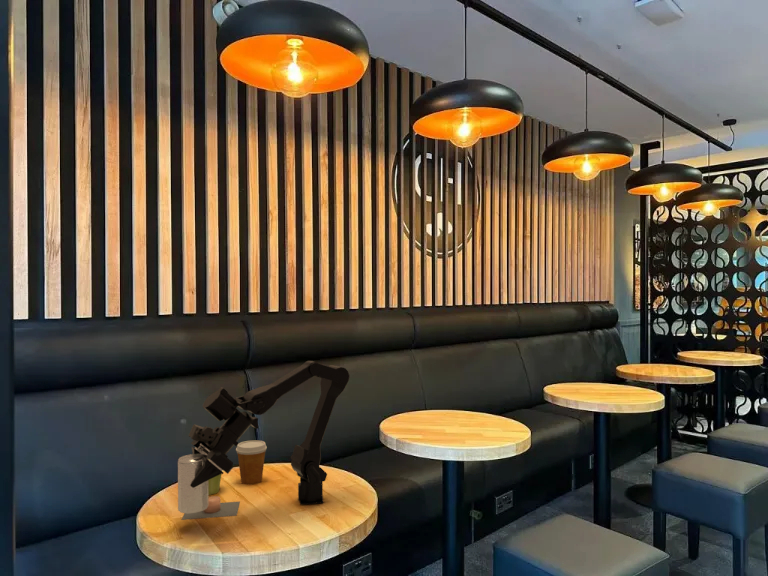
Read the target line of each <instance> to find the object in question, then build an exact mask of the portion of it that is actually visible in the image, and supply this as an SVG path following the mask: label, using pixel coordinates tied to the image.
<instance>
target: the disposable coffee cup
mask: <svg viewBox="0 0 768 576" xmlns="http://www.w3.org/2000/svg"><path fill="white" fill-rule="evenodd" d="M238 443H239V444H238V445H237V446H236V448H235V451H236V454H237V459H238V468H239V475H240V482H241V484H242V485H256V484H259V483H262V482H263V473H264V464H265V457H266V451H267V448H268V447H267V445H266V442H265V441H263V440H246V441H241V442H238Z"/></svg>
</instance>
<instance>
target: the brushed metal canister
mask: <svg viewBox="0 0 768 576" xmlns="http://www.w3.org/2000/svg"><path fill="white" fill-rule="evenodd" d="M203 457H205V458H206V459H207V460H208V459H209V458H208V457H207V455H205V454H193V453H192V454H191V453H190V454H187V455H182V456H180V457H179V458H178V460H177V511H178V512H179V513H180V514H181V513H182V514H184V513H196V512H200V511H203V510H205V509H206V508H208V497H209V495H208V481H206V482H204V483H202V484H200V485H198V486H196V487H194V488H193V487H191V486H190V484H191V483H192V481H193V479H194V478H195V477H196V475H197V474H198V472H199V471H200V469H201V468H202V466H203Z"/></svg>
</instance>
